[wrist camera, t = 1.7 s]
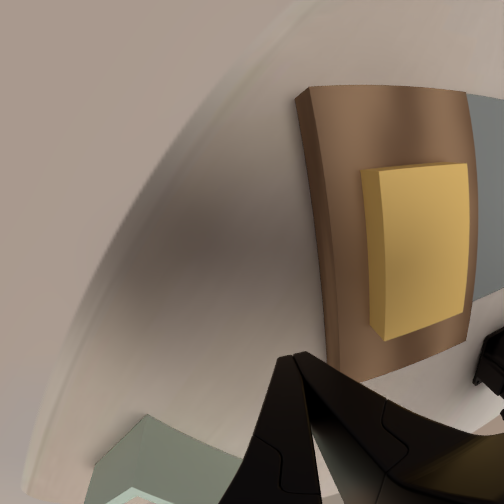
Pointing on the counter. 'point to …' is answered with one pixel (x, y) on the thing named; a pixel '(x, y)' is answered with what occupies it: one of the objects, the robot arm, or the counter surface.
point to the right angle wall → (161, 468)
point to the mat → (489, 191)
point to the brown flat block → (353, 213)
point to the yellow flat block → (416, 244)
